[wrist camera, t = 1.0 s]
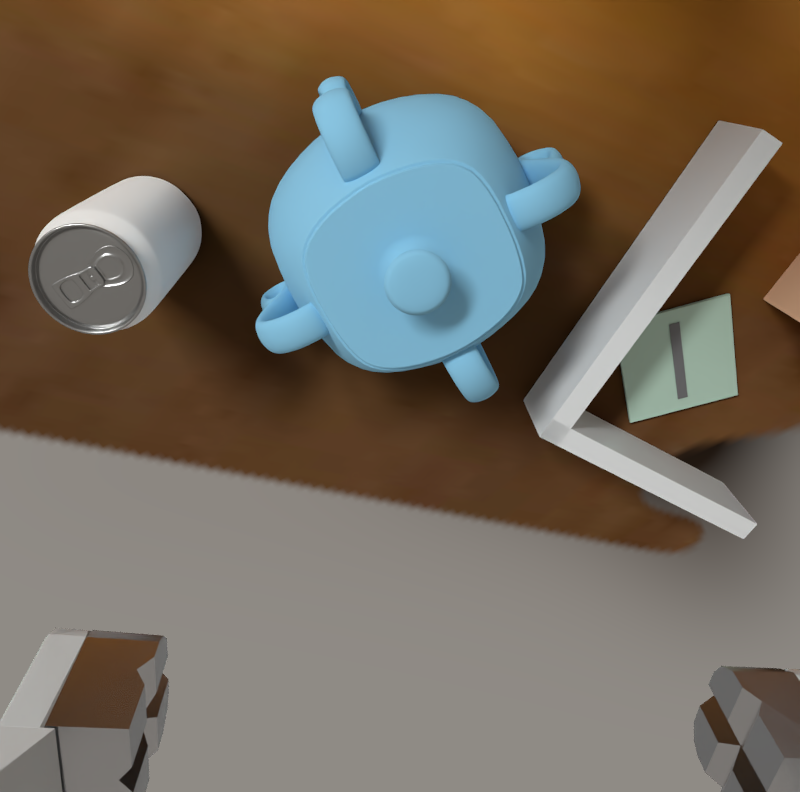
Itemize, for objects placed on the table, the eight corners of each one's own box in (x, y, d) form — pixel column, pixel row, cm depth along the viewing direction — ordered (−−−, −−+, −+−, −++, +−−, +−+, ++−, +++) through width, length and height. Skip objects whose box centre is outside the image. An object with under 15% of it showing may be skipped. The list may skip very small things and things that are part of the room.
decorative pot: (336, 36, 42) (323, 30, 30) (573, 154, 45) (650, 193, 33) (244, 284, 48) (201, 364, 36) (459, 372, 52) (487, 472, 39)
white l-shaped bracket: (718, 120, 45) (762, 129, 40) (918, 257, 49) (980, 280, 44) (523, 400, 53) (539, 436, 48) (710, 496, 57) (743, 539, 52)
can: (223, 245, 47) (182, 304, 36) (143, 293, 48) (78, 364, 37) (162, 154, 44) (97, 188, 33) (78, 207, 45) (-11, 256, 35)
